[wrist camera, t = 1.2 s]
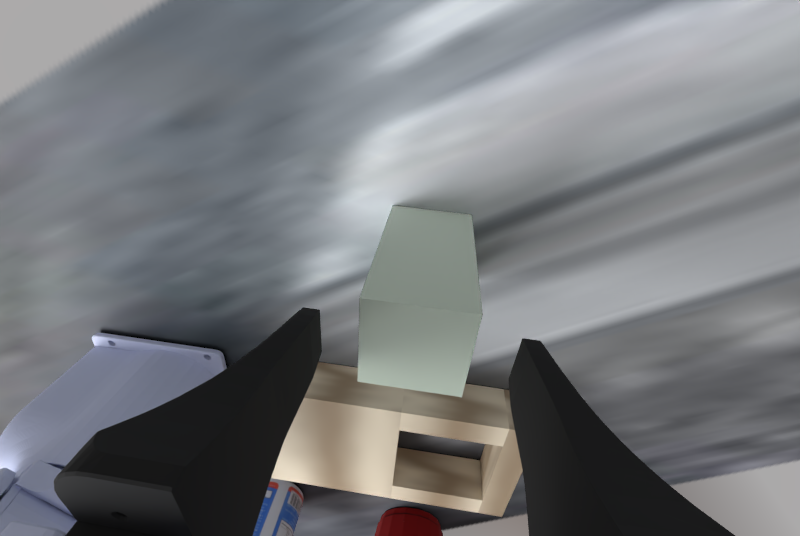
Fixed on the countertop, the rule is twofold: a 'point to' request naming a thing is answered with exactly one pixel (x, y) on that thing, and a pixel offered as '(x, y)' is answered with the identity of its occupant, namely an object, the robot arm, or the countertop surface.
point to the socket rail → (378, 442)
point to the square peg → (421, 303)
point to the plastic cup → (408, 523)
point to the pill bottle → (279, 509)
